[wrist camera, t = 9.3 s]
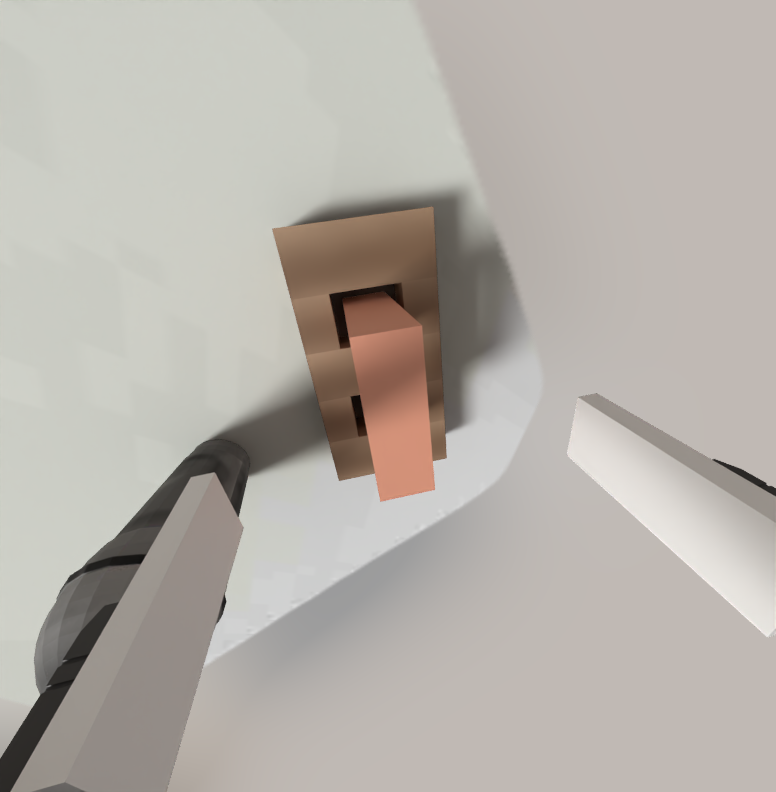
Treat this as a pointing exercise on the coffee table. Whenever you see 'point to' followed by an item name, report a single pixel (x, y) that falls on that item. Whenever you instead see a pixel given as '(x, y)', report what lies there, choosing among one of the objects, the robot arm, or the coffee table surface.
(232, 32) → the coffee table surface
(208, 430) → the coffee table surface
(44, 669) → the beverage cup
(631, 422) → the robot arm
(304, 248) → the slotted wooden board
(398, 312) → the block
